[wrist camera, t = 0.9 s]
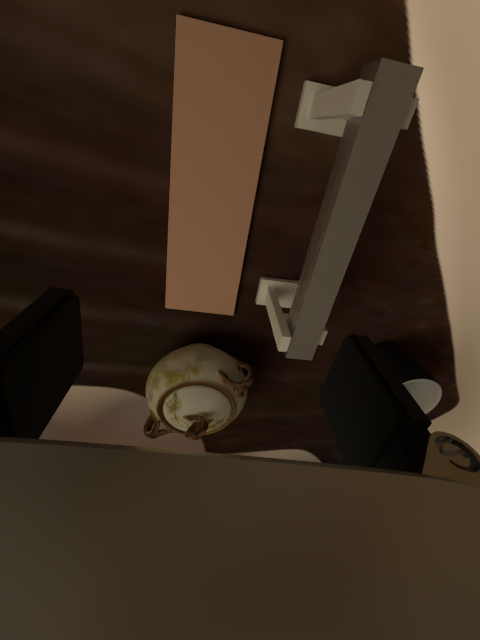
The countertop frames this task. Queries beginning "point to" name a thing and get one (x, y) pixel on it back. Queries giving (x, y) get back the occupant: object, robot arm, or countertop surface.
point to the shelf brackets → (329, 118)
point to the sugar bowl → (196, 391)
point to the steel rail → (349, 199)
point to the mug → (412, 376)
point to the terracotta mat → (215, 158)
